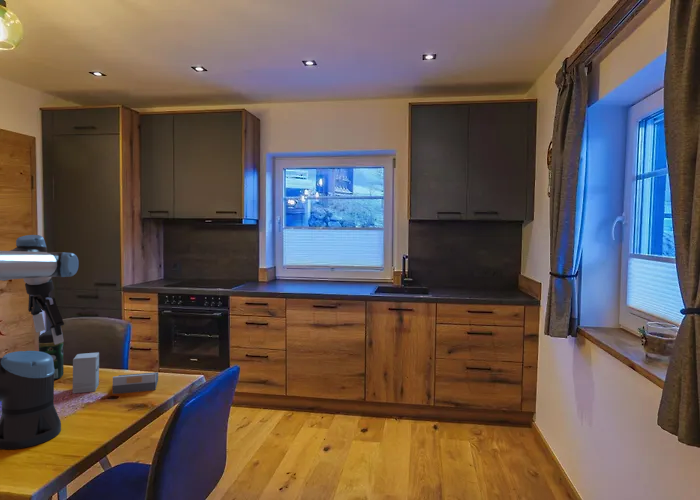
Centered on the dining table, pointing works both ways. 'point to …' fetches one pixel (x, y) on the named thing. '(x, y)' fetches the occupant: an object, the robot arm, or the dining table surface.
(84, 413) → the dining table surface
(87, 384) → the supplement box
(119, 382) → the grey display stand
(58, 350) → the coffee jar
